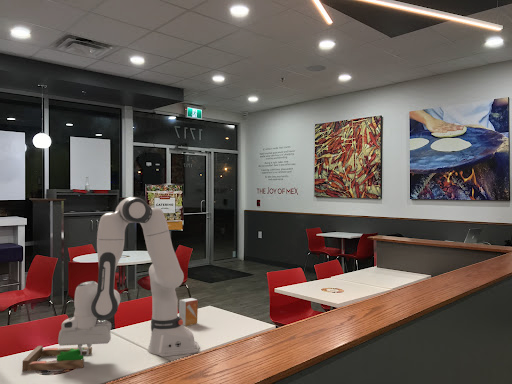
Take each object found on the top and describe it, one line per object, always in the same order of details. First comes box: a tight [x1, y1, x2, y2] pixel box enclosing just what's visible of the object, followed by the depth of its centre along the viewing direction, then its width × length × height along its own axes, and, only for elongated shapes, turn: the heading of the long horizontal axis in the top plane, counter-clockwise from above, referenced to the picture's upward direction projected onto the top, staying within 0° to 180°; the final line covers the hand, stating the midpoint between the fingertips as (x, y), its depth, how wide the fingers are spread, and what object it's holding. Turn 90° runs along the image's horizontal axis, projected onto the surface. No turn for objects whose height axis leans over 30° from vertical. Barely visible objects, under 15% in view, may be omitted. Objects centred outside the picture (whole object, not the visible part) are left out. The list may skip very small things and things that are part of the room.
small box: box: [178, 297, 199, 327], centre depth 226 cm, size 8×6×13 cm
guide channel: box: [21, 345, 93, 372], centre depth 171 cm, size 22×17×4 cm
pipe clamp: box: [56, 348, 85, 361], centre depth 171 cm, size 11×4×5 cm, turn 146°
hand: (84, 354), depth 172 cm, fingers closed
